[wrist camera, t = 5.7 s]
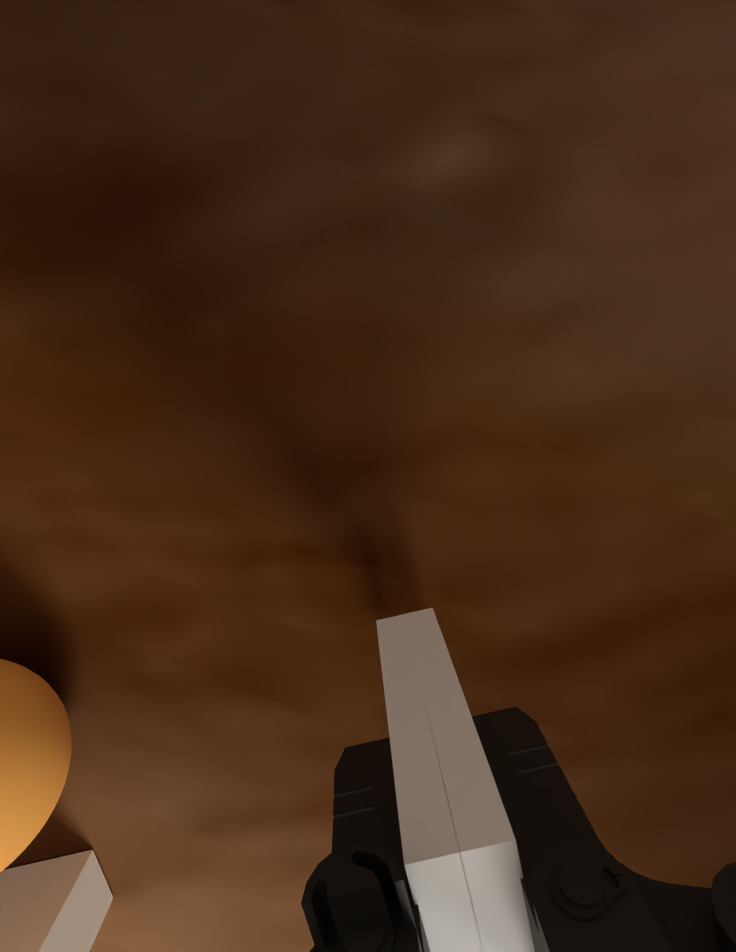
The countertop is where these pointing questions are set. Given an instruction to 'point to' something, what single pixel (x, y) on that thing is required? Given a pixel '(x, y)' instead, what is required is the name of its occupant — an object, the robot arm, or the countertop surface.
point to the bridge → (53, 904)
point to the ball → (29, 756)
